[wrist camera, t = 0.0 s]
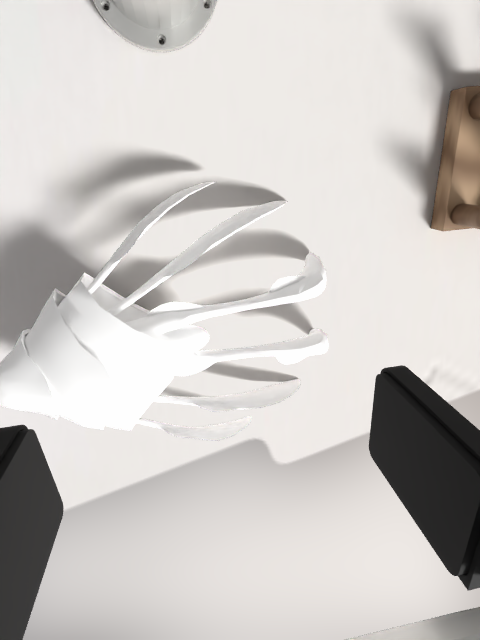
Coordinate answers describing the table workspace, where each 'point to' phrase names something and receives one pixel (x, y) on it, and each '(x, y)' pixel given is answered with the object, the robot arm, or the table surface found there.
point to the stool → (460, 164)
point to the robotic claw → (147, 343)
